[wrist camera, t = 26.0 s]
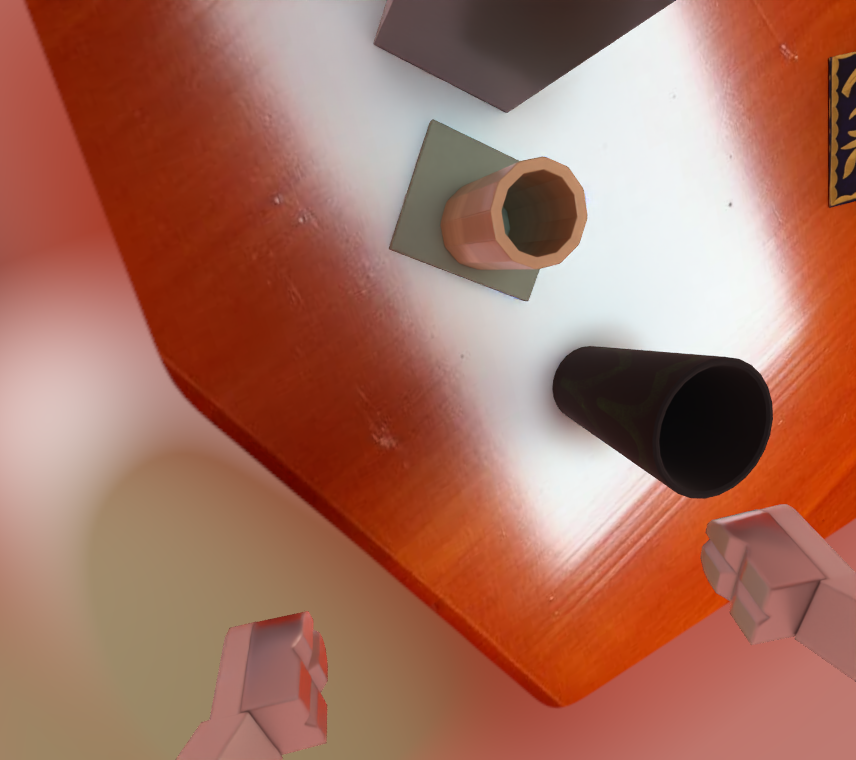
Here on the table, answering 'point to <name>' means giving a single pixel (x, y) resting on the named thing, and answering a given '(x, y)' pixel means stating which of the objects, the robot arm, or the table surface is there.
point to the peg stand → (506, 40)
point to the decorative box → (842, 129)
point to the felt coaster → (427, 196)
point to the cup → (671, 413)
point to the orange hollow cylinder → (516, 217)
